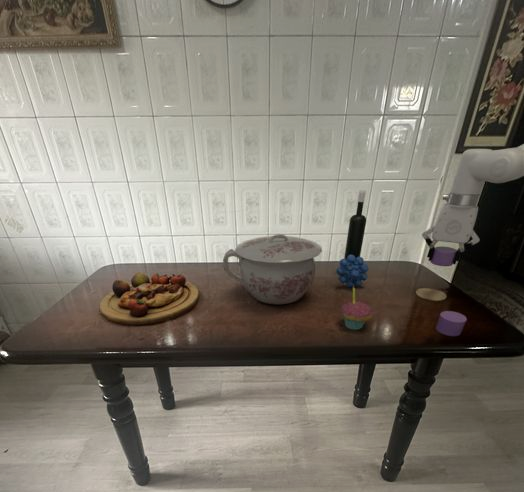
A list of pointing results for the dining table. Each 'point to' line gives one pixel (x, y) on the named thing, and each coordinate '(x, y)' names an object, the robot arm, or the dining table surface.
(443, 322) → the short purple cylinder
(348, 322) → the cupcake
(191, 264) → the dining table surface
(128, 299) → the wooden plate
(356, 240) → the wine bottle
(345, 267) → the grapes
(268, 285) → the chamber pot
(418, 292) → the coaster
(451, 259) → the purple cylinder
